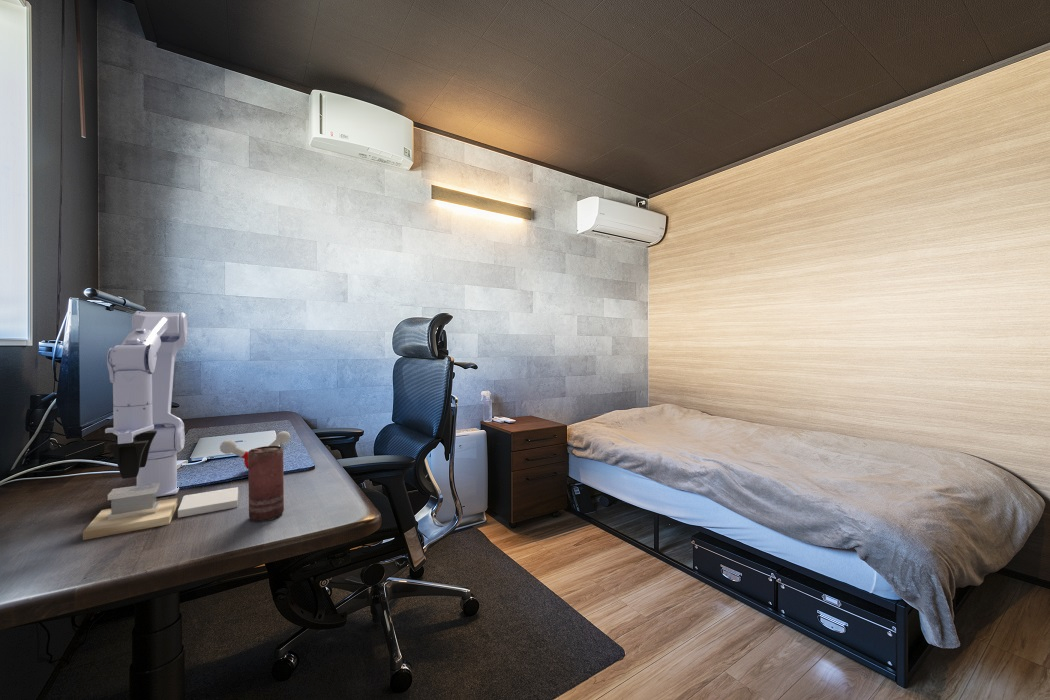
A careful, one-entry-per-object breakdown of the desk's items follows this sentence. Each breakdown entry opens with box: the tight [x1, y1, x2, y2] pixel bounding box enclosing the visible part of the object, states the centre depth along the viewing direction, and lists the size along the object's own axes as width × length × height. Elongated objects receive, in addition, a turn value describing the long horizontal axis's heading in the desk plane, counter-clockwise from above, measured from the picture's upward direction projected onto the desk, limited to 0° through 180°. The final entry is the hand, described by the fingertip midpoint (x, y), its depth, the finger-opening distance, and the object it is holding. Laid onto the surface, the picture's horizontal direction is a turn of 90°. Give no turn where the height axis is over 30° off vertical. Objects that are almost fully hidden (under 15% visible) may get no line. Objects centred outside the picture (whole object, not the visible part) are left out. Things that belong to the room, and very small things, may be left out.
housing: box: [107, 483, 161, 521], centre depth 84 cm, size 7×4×5 cm, turn 123°
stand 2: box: [177, 486, 239, 518], centre depth 92 cm, size 10×10×2 cm
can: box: [247, 445, 285, 523], centre depth 86 cm, size 6×6×14 cm
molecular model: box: [219, 430, 291, 470], centre depth 117 cm, size 18×6×10 cm, turn 145°
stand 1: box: [82, 497, 179, 541], centre depth 84 cm, size 12×12×2 cm
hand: (134, 472), depth 84 cm, fingers open, 7 cm apart
